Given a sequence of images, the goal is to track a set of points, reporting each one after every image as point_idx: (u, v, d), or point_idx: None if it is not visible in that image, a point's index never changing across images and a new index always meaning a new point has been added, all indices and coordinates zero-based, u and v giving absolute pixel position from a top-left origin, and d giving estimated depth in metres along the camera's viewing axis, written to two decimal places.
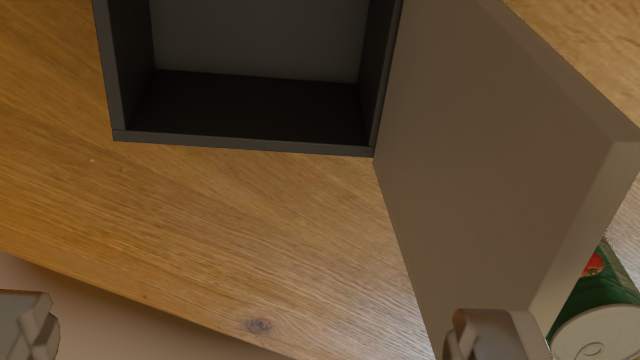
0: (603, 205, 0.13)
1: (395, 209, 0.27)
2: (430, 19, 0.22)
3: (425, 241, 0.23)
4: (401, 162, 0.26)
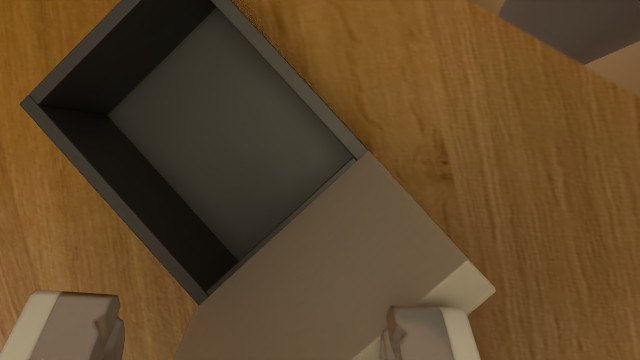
0: None
1: (188, 345, 0.24)
2: (344, 196, 0.24)
3: None
4: (230, 303, 0.24)
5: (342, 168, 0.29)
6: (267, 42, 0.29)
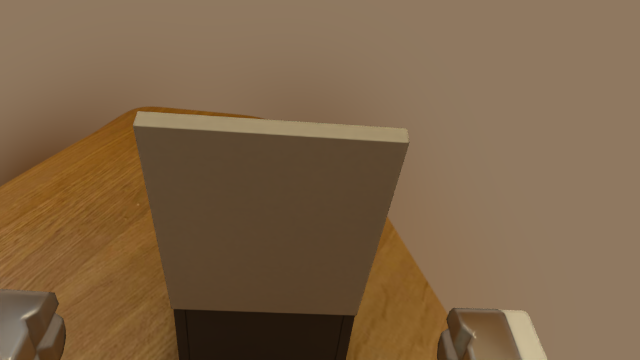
0: (371, 133, 0.25)
1: None
2: None
3: None
4: None
5: None
6: None
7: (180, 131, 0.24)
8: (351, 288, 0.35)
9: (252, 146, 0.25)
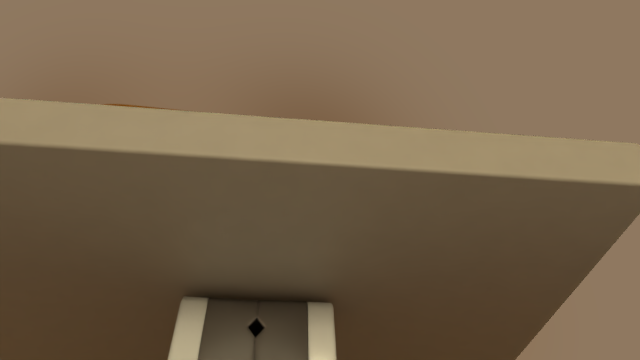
0: (548, 158, 0.09)
1: None
2: None
3: None
4: None
5: None
6: None
7: None
8: None
9: (198, 192, 0.08)
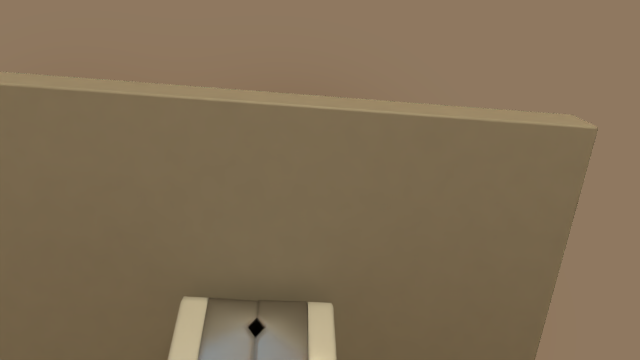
0: (501, 115, 0.11)
1: None
2: None
3: None
4: None
5: None
6: None
7: (29, 95, 0.10)
8: None
9: (214, 142, 0.10)
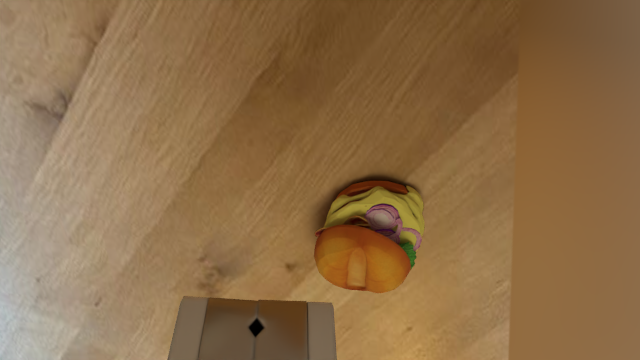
0: None
1: None
2: None
3: None
4: None
5: None
6: None
7: None
8: None
9: None
